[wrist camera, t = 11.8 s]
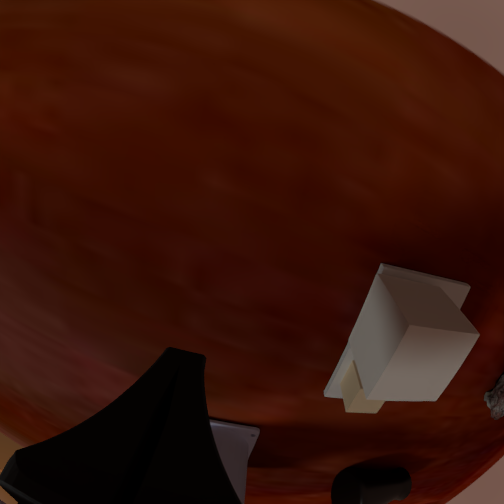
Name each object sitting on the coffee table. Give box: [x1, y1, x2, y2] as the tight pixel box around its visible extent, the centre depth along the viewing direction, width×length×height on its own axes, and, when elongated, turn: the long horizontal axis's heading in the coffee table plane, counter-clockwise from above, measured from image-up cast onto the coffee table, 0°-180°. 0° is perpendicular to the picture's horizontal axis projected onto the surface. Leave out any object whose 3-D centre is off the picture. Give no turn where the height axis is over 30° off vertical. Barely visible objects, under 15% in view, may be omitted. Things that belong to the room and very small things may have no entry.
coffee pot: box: [331, 467, 412, 504], centre depth 30 cm, size 8×18×8 cm
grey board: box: [324, 263, 471, 413], centre depth 20 cm, size 12×8×4 cm, turn 169°
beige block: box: [348, 273, 480, 401], centre depth 17 cm, size 5×5×6 cm
